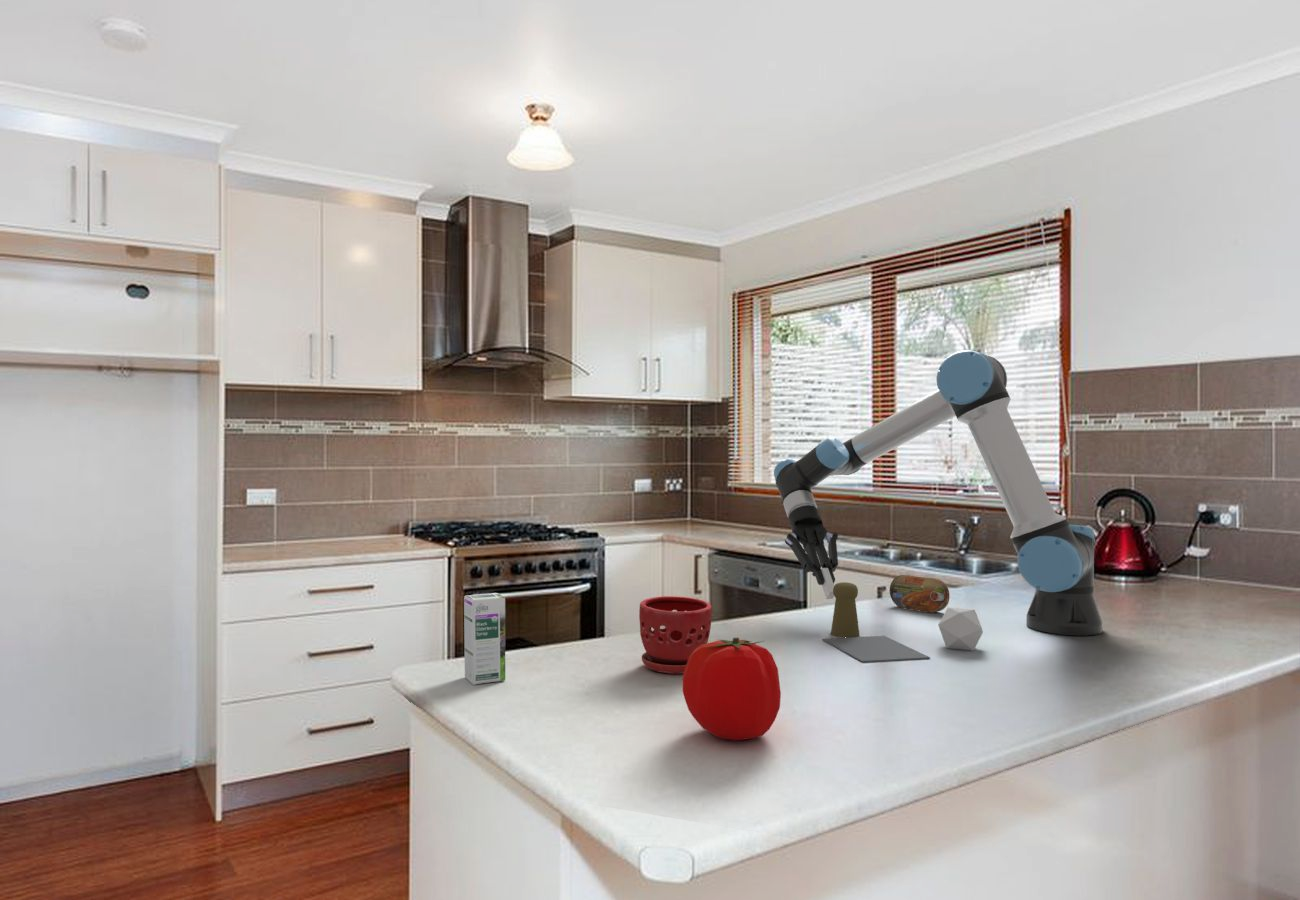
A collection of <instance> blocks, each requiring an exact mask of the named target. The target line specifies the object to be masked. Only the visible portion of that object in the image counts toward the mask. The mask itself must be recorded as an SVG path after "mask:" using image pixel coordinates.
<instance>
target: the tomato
mask: <svg viewBox="0 0 1300 900" xmlns="http://www.w3.org/2000/svg"><path fill="white" fill-rule="evenodd" d="M763 642H764V640H761V641H754V642H753V640H746V639H742V638H741V639H740V638H739V637H733V638H732V640H727V639H719V640H716V641H715V640H714V641H711V642H707V643H706V644H703V645H700V646H699V647H698V648H697V649H695V650H694V652H693V653H692V654H691V656H690V657H689V658H688V662H687V665H686V668H685V671H684V673H682V674H683V675H682V693H683V694H682V695H683V697H684V701H685V703H686V707H687V709H688V711H689V713H690V714H691V716H692V718H693V719H694V720H695V721H696V722H697V723H698V725H699V726H700V727H701V728H702V729H703V730H705V731H707V732H709V733H710V734H712V735H714V736H715V737H717V738H718V739H723V740H731V741H744V740H750V739H754V738H759V737H762V736H764V735H765V734H766V733H767V732H768V731H769V730H770V729H771V727H772V726H773V724H774V723H775V721H776V719H777V717H778V716H777V715H778V713H779V711H780V708H781V696H782V695H781V694H782V692H781V684H780V677H779V675H780V674H779V668H778V666H777V663H776V661H775V659H774V656H773V655H772V653H771V652H770V651H769V650H768V649H767V647H763V646H761V645H759V643H763Z"/></svg>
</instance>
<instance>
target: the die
mask: <svg viewBox="0 0 1300 900" xmlns="http://www.w3.org/2000/svg"><path fill="white" fill-rule="evenodd" d="M938 628H939V629H938V630H939V631H940V634H941V637H942V639H943V642H944V643H943V644H944V645H945V648H946V649H949V650H951V649H952V650H963V651H972V652H973V651H975V649H976V647H977V645H978V643H979V641H980V639H981V637H982V636H983V627H982V624H981V622H980V619H979V617H978V615H977V612H976V610H975V609H974V608H973V609H972V608H960V607H959V608H958V607H949V606H948V607H947V608H946V610H945V612H944V614H943V615H942V617H941V619H940V621H939V623H938Z"/></svg>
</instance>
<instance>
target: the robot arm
mask: <svg viewBox="0 0 1300 900" xmlns="http://www.w3.org/2000/svg"><path fill="white" fill-rule="evenodd" d="M1007 379H1008V376H1007V371H1006V369H1005V367H1004V366H1003V364H1002V363H1001V362H1000V361H999V360H998V359H996V358H995V357H993V356H990V355H987V354H984V353H983V352H980V351H979V350H978V351H977V350H972V349H971V350H970V349H969V350H968V349H967V350H961V351H957V352H954V353H952V354H950V355H949V356H947V357H946V358H945V359H944V360H943V361H942V363H941V364H940V366H939V368H938V371H937V373H936V387H937V389H936V390H934V391H932V392H930V393H929V394H927V395H925V396H924V397H922V398H920V399H918V400H917V401H915V402H913V403H911V404H909V405H907V406H906V407H904V408H902V409H900V410H899V411H897V412H895V413H894V414H892V415H890V416H888V417H886V418H884V419H883V420H881V421H879V422H878V423H876V424H874V425H872V426H871V427H869V428H867V429H866V430H864V431H862V432H860V433H858V434H856V435H855V436H853V437H851V438H850V439H848V440H846V441H844V442H842V441H841V440H840V439H837V438H836V437H835V436H829V437H827V438H826V439H825V440H823V441H821V442H819V443H818V444H817V446H815V447H813V448H812V449H811V450H809V451H808V452H807V453H806V454H805V455H803V456H802V457H801V458H800V459H799V460H798V459H796V458H786V459H785V460H781V461H780V462H778V463H777V464H776V466H775V467H774V469H773V475H774V476H773V477H774V480H775V485H776V488H777V491H778V492H779V495H780V498H781V500H782V503H783V504H782V505H783V507H784V511H785V513H786V517H787V519H788V520H787V521H788V523H789V525H790V528H791V529H790V530H791V531H792V532H791V533H788V534H787V535H786V538H785V539H784V543H785V544H786V546H788V547H789V548H791V550H792V553H794V556H795V558H797V560H798V563H800V565H801V567H802V568H803V570H804V572H805V573H811V576H812V577H815V580H816V583H817V584H818V585H819V586H821V587H822V590H823V592H824V596H825V599H826V600H834V598H835V596H834V594H833V588H834V586H835V585H834V584H835V582H836V577H835V575H834V572H836V569H837V567H838V565H839V558H838V546H837V539H838V537H839V534H838V533H837V532H833V533H830V532H828V530H827V528H826V527H825V526H824V524H823V519H822V516H821V514H820V511H819V509H818V505H817V503H816V500H815V498H814V495H813V491H812V489H813V488H815V487H816V486H817V485H819V484H820V483H822V482H823V481H824V480H826V479H827V478H828V477H830V476H831V477H833V476H850V475H852V474H855V473H858V472H859V471H860V470H862V467H864V466H865V465H867V464H870V462H873V461H875V460H876V459H878V458H880V457H881V456H883V455H885V454H887V453H890V452H892V451H893V450H895V449H897V448H899V447H901V446H902V445H904V444H906V443H908V442H910V441H911V440H913V439H915V438H917V437H919V436H921V435H923V434H924V433H926V432H928V431H930V430H932V429H934V428H936V427H938V426H939V425H941V424H943V423H944V422H947V421H948V420H951V419H953V418H956V419H957V421H958V422H960V423H963V424H965V425H967V426H968V428H969V430H970V431H969V432H970V433H971V436H972V437H973V440H974V441H975V444H976V446H977V448H978V450H979V453H980V456H981V458H982V459H983V461H984V464H985V465H986V469H987V470H988V473H989V475H990V477H991V479H992V481H993V484H994V486H995V488H996V491H997V493H998V495H999V497H1000V499H1001V502H1002V504H1003V506H1004V509H1005V510H1006V513H1007V515H1008V517H1009V519H1010V521H1011V524H1012V526H1013V529H1012V532H1011V534H1010V536H1009V537H1010V540H1011V542H1012V545H1013V547H1014V549H1015V551H1016V554H1017V568H1018V571H1019V573H1020V576H1021V577H1022V578H1023V580H1024V581H1025V582H1026V583H1027V584H1028V585H1030V586H1031V587H1032V588H1034V589H1035V590H1034V594H1033V597H1032V599H1031V603H1030V605H1029V608H1028V610H1027V613H1026V618H1025V620H1026V621H1025V622H1026V626H1027V627H1028V628H1029V629H1032V630H1036V631H1040V632H1043V633H1045V632H1046V633H1049V634H1057V635H1066V636H1094V635H1095V636H1096V635H1100V634H1102V633H1103V619H1102V617H1101V615H1100V611H1099V608H1098V605H1097V603H1096V600H1095V596H1094V595H1095V594H1094V593H1095V591H1094V586H1095V585H1094V583H1095V579H1094V578H1095V573H1094V572H1095V567H1094V566H1095V543H1096V538H1095V532H1094V530H1093V528H1092V527H1090V526H1087V525H1078V524H1069V521H1068V520H1067V519H1068V518H1067V517H1066V516H1064V515H1061V514H1058V513H1057V512H1056V511H1055V510H1054V508H1053V505H1052V503H1051V501H1050V499H1049V497H1048V495H1047V492H1046V490H1045V488H1044V485H1043V484H1042V482H1041V480H1040V478H1039V475H1038V472H1037V471H1036V469H1035V466H1034V465H1033V462H1032V460H1031V458H1030V456H1029V453H1028V452H1027V449H1026V447H1025V445H1024V443H1023V440H1022V438H1021V436H1020V434H1019V432H1018V429H1017V427H1016V425H1015V423H1014V421H1013V419H1012V417H1011V414H1010V413H1009V411H1008V407H1009V405H1010V402H1011V396H1010V395H1009V391H1008V389H1007V385H1008V380H1007ZM825 539H826V543H827V544H828V546H827V550H828V553H827V550H826V547H825V541H824V540H825Z"/></svg>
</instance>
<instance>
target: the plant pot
mask: <svg viewBox="0 0 1300 900" xmlns="http://www.w3.org/2000/svg"><path fill="white" fill-rule="evenodd" d="M712 611H713V610H712V605H711V604H710V602H707V601H705V600H703V599H699V598H696V597H695V598H694V597H687V596H676V595H675V596H672V595H671V596H669V595H667V596H666V595H665V596H655V597H650V598H646V599H643V600H641V602H640V603H639V611H638V612H639V614H638V615H639V618H638V619H639V629H640V630H639V633H640V638H641V644H642V646H643V648H644V650H645V652H644V653H642V655H641V662H642V663H643V665H644V666H645V667H647V668H648V669H650V670H651V671H655V672H658V673H664V674H670V675H671V674H673V675H675V674H676V675H679V674H684V671H685V668H686V665H687V662H688V658H689V657H690V656H691V654H692V653H693V652H694V650H695V649H697V648H698V647H699V646H700V645H703V644H706V643H709V642H708V641H709V638H710V633H711V625H712ZM661 627H664V628H661ZM652 629H653V630H652Z"/></svg>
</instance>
